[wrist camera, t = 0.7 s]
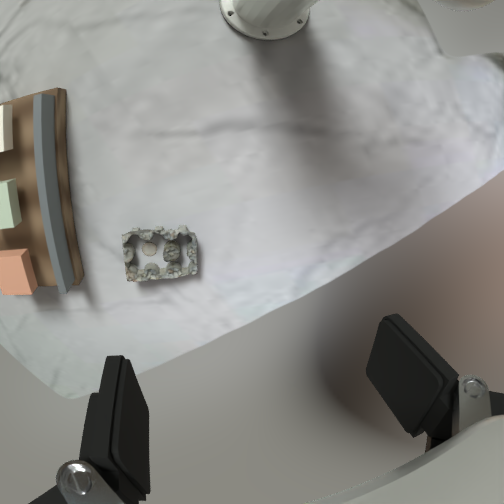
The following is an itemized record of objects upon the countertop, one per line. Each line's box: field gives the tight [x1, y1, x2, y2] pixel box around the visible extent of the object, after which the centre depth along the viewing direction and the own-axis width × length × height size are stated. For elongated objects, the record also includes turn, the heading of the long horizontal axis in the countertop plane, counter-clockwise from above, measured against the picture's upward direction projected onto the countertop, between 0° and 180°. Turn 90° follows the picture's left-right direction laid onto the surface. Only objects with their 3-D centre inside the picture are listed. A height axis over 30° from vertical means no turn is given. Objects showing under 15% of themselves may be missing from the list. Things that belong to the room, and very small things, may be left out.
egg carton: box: [122, 225, 197, 282], centre depth 41 cm, size 11×8×4 cm
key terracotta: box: [0, 249, 38, 295], centre depth 32 cm, size 6×6×2 cm
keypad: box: [0, 88, 84, 294], centre depth 31 cm, size 28×16×7 cm, turn 178°
